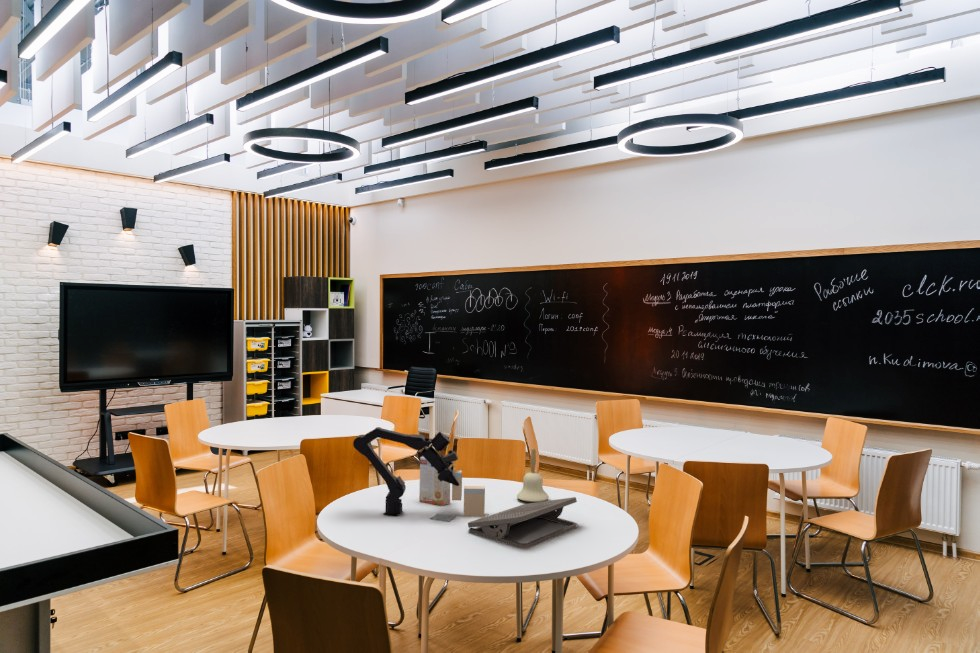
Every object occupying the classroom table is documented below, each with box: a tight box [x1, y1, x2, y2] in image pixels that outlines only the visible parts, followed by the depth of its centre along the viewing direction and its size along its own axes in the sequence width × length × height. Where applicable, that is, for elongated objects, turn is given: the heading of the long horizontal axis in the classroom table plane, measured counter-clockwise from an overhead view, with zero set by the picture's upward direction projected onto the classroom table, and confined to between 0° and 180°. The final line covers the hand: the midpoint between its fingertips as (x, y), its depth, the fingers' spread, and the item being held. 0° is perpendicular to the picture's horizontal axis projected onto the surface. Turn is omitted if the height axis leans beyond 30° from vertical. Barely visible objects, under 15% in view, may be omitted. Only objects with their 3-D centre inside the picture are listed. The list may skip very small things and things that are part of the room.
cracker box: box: [418, 456, 451, 507], centre depth 295 cm, size 14×6×21 cm, turn 58°
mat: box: [429, 513, 457, 523], centre depth 272 cm, size 9×7×1 cm
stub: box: [451, 469, 463, 501], centre depth 277 cm, size 4×5×12 cm
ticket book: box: [463, 485, 486, 517], centre depth 277 cm, size 9×5×12 cm, turn 91°
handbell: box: [516, 447, 549, 503], centre depth 301 cm, size 15×15×25 cm
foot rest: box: [467, 496, 578, 550], centre depth 259 cm, size 39×30×13 cm
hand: (458, 483), depth 277 cm, fingers closed on stub, 4 cm apart
